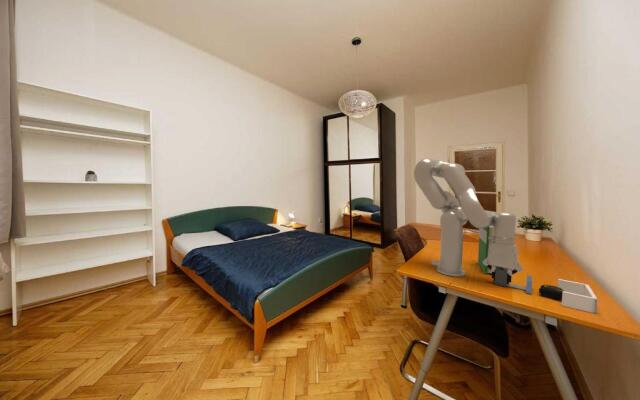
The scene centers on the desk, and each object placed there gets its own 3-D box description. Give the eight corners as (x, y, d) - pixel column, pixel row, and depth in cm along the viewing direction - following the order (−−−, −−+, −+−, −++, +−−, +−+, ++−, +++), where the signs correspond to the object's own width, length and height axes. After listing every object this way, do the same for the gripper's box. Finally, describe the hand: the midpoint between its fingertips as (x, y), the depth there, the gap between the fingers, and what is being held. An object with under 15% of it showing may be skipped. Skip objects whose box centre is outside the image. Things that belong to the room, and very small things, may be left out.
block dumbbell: (494, 285, 99) (495, 269, 99) (496, 279, 105) (496, 264, 105) (531, 294, 91) (532, 276, 91) (531, 287, 97) (532, 271, 97)
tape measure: (537, 295, 91) (538, 286, 91) (542, 291, 95) (543, 282, 94) (562, 303, 85) (563, 293, 85) (566, 298, 89) (567, 288, 89)
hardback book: (503, 276, 109) (506, 227, 108) (484, 274, 113) (487, 225, 111) (494, 265, 125) (496, 221, 124) (477, 263, 128) (479, 220, 127)
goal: (561, 305, 83) (562, 292, 83) (557, 290, 95) (558, 278, 95) (596, 313, 78) (597, 299, 77) (587, 297, 90) (588, 284, 89)
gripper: (478, 239, 103) (476, 279, 104) (529, 245, 91) (526, 290, 93) (481, 236, 108) (479, 274, 109) (529, 242, 97) (526, 284, 98)
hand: (501, 281), depth 101 cm, fingers closed on block dumbbell, 4 cm apart
